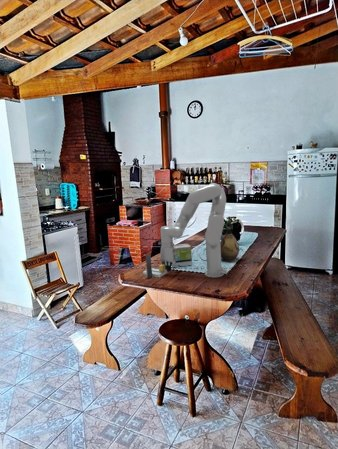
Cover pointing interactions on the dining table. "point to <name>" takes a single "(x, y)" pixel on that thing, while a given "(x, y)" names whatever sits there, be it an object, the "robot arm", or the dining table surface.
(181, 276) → the dining table surface
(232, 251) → the ceramic jug
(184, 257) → the tea box
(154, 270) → the panel
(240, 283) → the dining table surface
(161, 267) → the toggle amber
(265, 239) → the dining table surface
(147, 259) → the post left
